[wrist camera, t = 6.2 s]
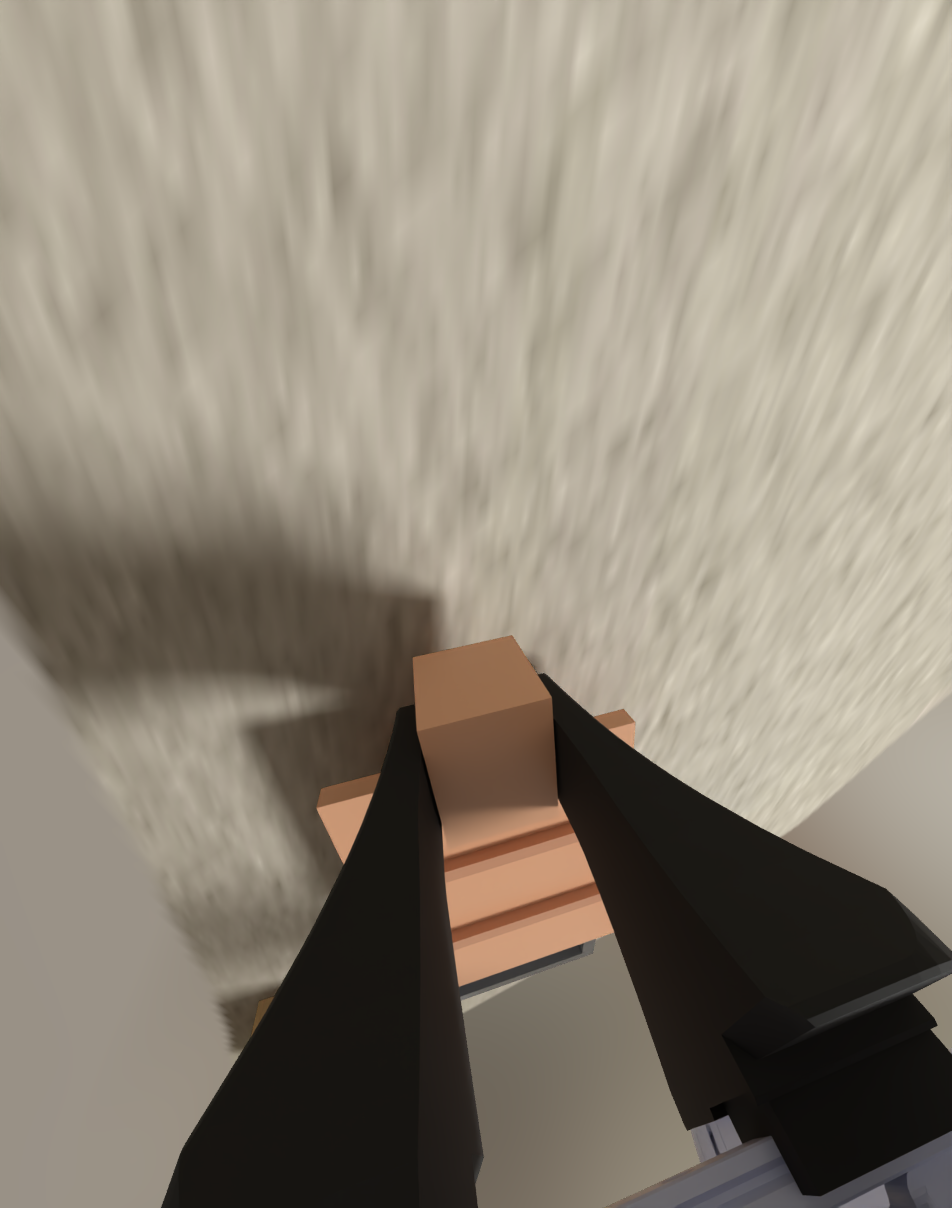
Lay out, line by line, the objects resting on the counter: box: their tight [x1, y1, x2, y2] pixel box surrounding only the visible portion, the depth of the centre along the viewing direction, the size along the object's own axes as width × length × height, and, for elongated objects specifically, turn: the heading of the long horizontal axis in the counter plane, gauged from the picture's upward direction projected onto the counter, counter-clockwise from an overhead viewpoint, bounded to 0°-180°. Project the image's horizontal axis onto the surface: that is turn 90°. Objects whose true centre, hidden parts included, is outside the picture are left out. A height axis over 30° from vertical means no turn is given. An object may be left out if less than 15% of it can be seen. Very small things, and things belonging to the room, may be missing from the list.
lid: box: [316, 635, 635, 987], centre depth 12 cm, size 11×18×3 cm, turn 7°
